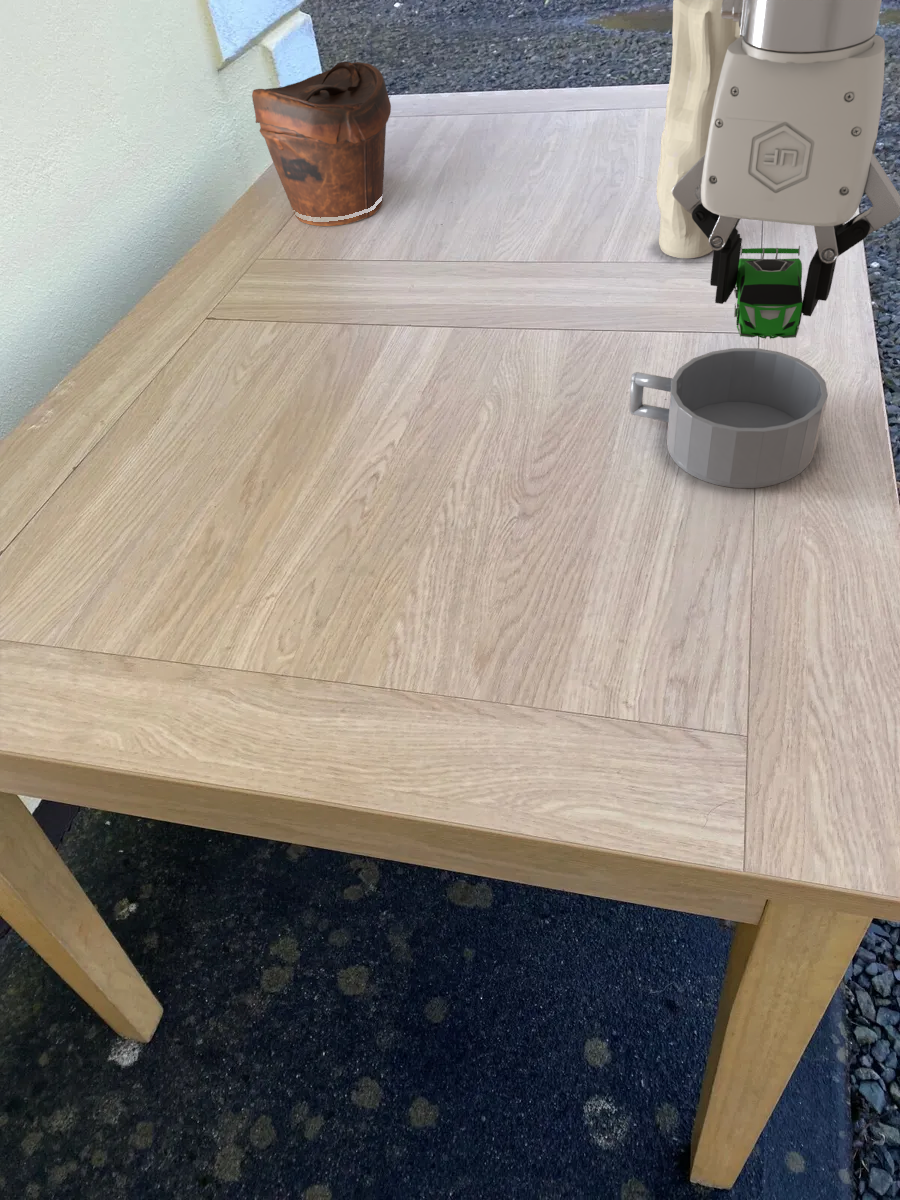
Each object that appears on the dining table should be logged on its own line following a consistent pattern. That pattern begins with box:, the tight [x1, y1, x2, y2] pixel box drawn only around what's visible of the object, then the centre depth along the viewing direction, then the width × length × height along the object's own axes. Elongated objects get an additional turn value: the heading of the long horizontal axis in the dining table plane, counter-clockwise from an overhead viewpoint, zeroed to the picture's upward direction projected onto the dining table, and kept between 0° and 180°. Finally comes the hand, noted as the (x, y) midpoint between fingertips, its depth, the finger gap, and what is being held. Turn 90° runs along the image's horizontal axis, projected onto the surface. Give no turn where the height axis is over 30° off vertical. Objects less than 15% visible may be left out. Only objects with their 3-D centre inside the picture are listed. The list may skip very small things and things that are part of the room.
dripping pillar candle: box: [656, 0, 741, 259], centre depth 101 cm, size 9×8×30 cm
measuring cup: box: [629, 347, 828, 489], centre depth 82 cm, size 17×13×6 cm
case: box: [251, 61, 392, 227], centre depth 125 cm, size 18×20×18 cm
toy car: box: [733, 245, 803, 340], centre depth 66 cm, size 10×5×2 cm, turn 167°
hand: (767, 298), depth 67 cm, fingers closed on toy car, 5 cm apart
